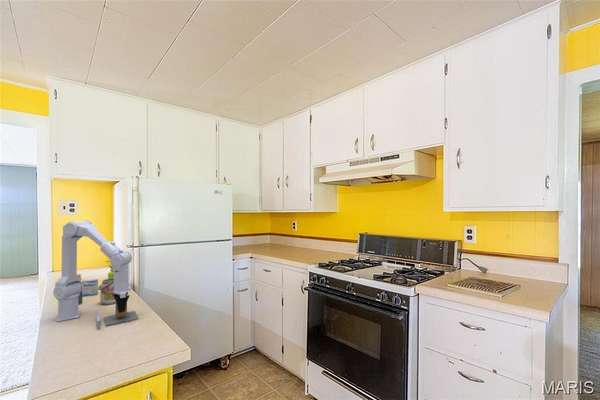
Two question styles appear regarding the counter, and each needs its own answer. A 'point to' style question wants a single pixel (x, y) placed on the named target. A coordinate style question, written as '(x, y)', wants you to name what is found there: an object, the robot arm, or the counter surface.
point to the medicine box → (90, 287)
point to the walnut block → (121, 312)
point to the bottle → (79, 295)
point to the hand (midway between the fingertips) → (121, 310)
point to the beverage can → (107, 292)
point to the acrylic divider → (98, 320)
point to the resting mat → (120, 318)
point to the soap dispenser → (111, 274)
